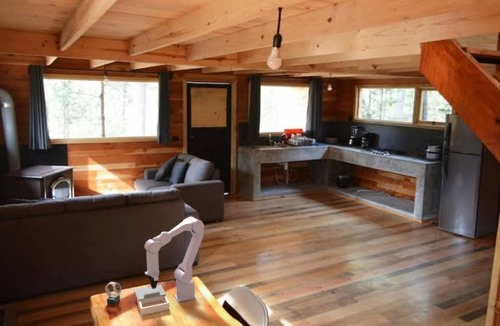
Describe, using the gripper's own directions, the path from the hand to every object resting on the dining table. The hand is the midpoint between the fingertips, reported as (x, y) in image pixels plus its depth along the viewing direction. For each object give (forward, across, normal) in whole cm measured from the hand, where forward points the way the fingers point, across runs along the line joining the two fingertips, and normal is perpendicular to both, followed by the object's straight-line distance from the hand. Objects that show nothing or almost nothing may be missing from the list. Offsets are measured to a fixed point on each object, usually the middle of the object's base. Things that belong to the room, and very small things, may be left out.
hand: (153, 288), depth 212 cm
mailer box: (+10, 0, -1) cm, 10 cm away
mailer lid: (+6, -8, -1) cm, 10 cm away
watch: (+10, -14, -18) cm, 25 cm away
